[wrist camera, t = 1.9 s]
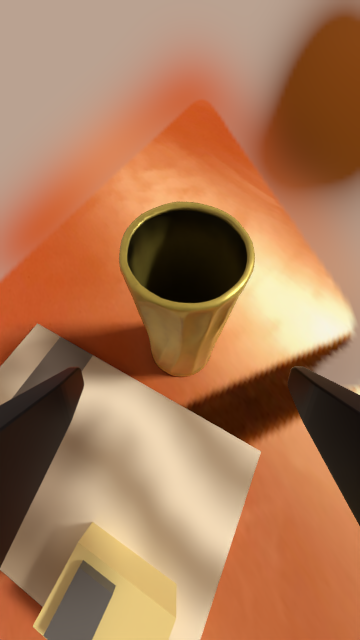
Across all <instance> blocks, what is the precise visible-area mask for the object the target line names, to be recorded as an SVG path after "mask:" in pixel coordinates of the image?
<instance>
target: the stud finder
mask: <svg viewBox="0 0 360 640" xmlns="http://www.w3.org/2000/svg"><path fill="white" fill-rule="evenodd" d="M176 596H177V584H176V583H175V582H173V581H172V580H171V579H169V578H168V577H166V576H165V575H164V574H162V573H161V572H160V571H158V570H157V569H156V568H154V567H153V566H152V565H150V564H149V563H148V562H146V561H145V560H144V559H142V558H141V557H140V556H138V555H137V554H136V553H134V552H133V551H131V550H130V549H129V548H127V547H126V546H125V545H123V544H122V543H121V542H119V541H118V540H117V539H115V538H114V537H113V536H111V535H110V534H109V533H107V532H106V531H105V530H103V529H102V528H101V527H99V526H98V525H96V524H95V523H94V522H92V523H91V525H90V526H89V528H88V529H87V530H86V532H85V533H84V535H83V536H82V537H81V539H80V540H79V541H78V543H77V545H76V547H75V549H74V551H73V552H72V554H71V556H70V558H69V560H68V562H67V564H66V565H65V567H64V569H63V571H62V573H61V575H60V577H59V578H58V580H57V582H56V584H55V586H54V588H53V590H52V591H51V593H50V595H49V597H48V599H47V601H46V603H45V604H44V606H43V608H42V610H41V612H40V614H39V616H38V617H37V619H36V621H35V623H34V625H33V627H34V628H35V629H36V630H37V631H38V632H39V633H40V634H42V635H43V636H44V637H45V638H46V639H47V640H169V637H170V634H171V632H172V629H173V626H174V623H175V621H176Z"/></svg>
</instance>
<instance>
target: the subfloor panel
mask: <svg viewBox="0 0 360 640" xmlns="http://www.w3.org/2000/svg"><path fill="white" fill-rule="evenodd" d="M69 367H79V368H81V371H82V375H83V380H84V389H83V391H82V394H81V397H80V400H79V402H78V405H77V408H76V411H75V413H74V416H73V419H72V421H71V424H70V426H69V428H68V430H67V432H66V434H65V436H64V438H63V440H62V442H61V444H60V446H59V448H58V450H57V453H56V455H55V457H54V459H53V461H52V463H51V465H50V467H49V469H48V471H47V473H46V475H45V477H44V479H43V481H42V483H41V485H40V487H39V490H38V492H37V494H36V496H35V498H34V500H33V502H32V504H31V506H30V508H29V510H28V512H27V514H26V516H25V518H24V520H23V522H22V524H21V526H20V529H19V531H18V533H17V535H16V537H15V539H14V541H13V543H12V545H11V547H10V549H9V551H8V553H7V555H6V557H5V559H4V561H3V563H2V566H1V568H0V570H1V571H2V572H3V573H4V574H6V575H7V576H8V577H9V578H10V579H11V580H12V581H14V582H15V583H16V584H17V585H18V586H19V587H20V588H22V589H23V590H24V591H25V592H26V593H27V594H28V595H30V596H31V597H32V598H33V599H34V600H35V601H36V602H38V603H39V604H40V605H41V606H42V607H43V606H44V604H45V603H46V601H47V599H48V597H49V595H50V593H51V591H52V590H53V588H54V586H55V584H56V582H57V580H58V578H59V577H60V575H61V573H62V571H63V569H64V567H65V565H66V564H67V562H68V560H69V558H70V556H71V554H72V552H73V551H74V549H75V547H76V545H77V543H78V541H79V540H80V539H81V537H82V536H83V535H84V533H85V532H86V530H87V529H88V528H89V526H90V525H91V523H92V522H94V523H95V524H96V525H98V526H99V527H101V528H102V529H103V530H105V531H106V532H107V533H109V534H110V535H111V536H113V537H114V538H115V539H117V540H118V541H119V542H121V543H122V544H123V545H125V546H126V547H127V548H129V549H130V550H131V551H133V552H134V553H136V554H137V555H138V556H140V557H141V558H142V559H144V560H145V561H146V562H148V563H149V564H150V565H152V566H153V567H154V568H156V569H157V570H158V571H160V572H161V573H162V574H164V575H165V576H166V577H168V578H169V579H171V580H172V581H173V582H175V583H176V584H177V596H176V621H175V623H174V626H173V629H172V632H171V634H170V637H169V640H200V639H201V636H202V632H203V629H204V626H205V623H206V620H207V617H208V614H209V611H210V608H211V605H212V602H213V598H214V595H215V592H216V589H217V586H218V583H219V580H220V577H221V574H222V571H223V568H224V564H225V561H226V558H227V555H228V552H229V549H230V546H231V543H232V540H233V537H234V533H235V530H236V527H237V524H238V521H239V518H240V515H241V512H242V509H243V506H244V503H245V499H246V496H247V493H248V490H249V487H250V484H251V481H252V478H253V475H254V472H255V469H256V465H257V462H258V459H259V456H260V453H261V451H259V450H257V449H256V448H254V447H252V446H250V445H249V444H247V443H245V442H243V441H242V440H240V439H238V438H236V437H235V436H233V435H231V434H229V433H228V432H226V431H224V430H222V429H221V428H219V427H217V426H215V425H214V424H212V423H210V422H208V421H207V420H205V419H203V418H202V417H200V416H198V415H196V414H195V413H193V412H191V411H189V410H188V409H186V408H184V407H182V406H181V405H179V404H177V403H175V402H174V401H172V400H170V399H168V398H167V397H165V396H163V395H161V394H160V393H158V392H156V391H154V390H153V389H151V388H149V387H147V386H146V385H144V384H142V383H140V382H139V381H137V380H135V379H133V378H132V377H130V376H128V375H126V374H125V373H123V372H121V371H120V370H118V369H116V368H114V367H113V366H111V365H109V364H107V363H106V362H104V361H102V360H100V359H99V358H97V357H95V356H93V355H92V354H90V353H88V352H86V351H85V350H83V349H81V348H79V347H78V346H76V345H74V344H72V343H71V342H69V341H67V340H65V339H64V338H62V337H60V336H58V335H57V334H55V333H53V332H51V331H50V330H48V329H46V328H44V327H43V326H41V325H39V324H37V325H36V326H35V327H34V328H33V329H32V330H31V332H30V333H29V334H28V335H27V336H26V337H25V339H24V340H23V341H22V342H21V343H20V344H19V346H18V347H17V348H16V349H15V350H14V351H13V353H12V354H11V355H10V356H9V357H8V358H7V360H6V361H5V362H4V363H3V364H2V365H1V367H0V405H1V404H3V403H5V402H7V401H9V400H10V399H12V398H14V397H16V396H18V395H20V394H21V393H23V392H25V391H27V390H29V389H31V388H32V387H34V386H36V385H38V384H40V383H41V382H43V381H45V380H47V379H49V378H51V377H52V376H54V375H56V374H58V373H60V372H62V371H63V370H65V369H67V368H69Z"/></svg>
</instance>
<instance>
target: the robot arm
mask: <svg viewBox="0 0 360 640" xmlns="http://www.w3.org/2000/svg"><path fill="white" fill-rule="evenodd" d="M288 388H289V391H290V393H291V395H292V398H293V400H294V402H295V405H296V407H297V410H298V412H299V414H300V417H301V419H302V421H303V423H304V425H305V427H306V429H307V430H308V432H309V434H310V436H311V438H312V440H313V441H314V443H315V445H316V447H317V449H318V451H319V452H320V454H321V456H322V458H323V460H324V462H325V463H326V465H327V467H328V469H329V471H330V473H331V474H332V476H333V478H334V480H335V482H336V484H337V485H338V487H339V489H340V491H341V493H342V495H343V496H344V498H345V500H346V502H347V504H348V506H349V507H350V509H351V511H352V513H353V515H354V517H355V518H356V520H357V522H358V524H359V526H360V395H358V394H356V393H354V392H352V391H350V390H348V389H346V388H344V387H342V386H340V385H338V384H336V383H334V382H332V381H330V380H328V379H326V378H324V377H322V376H320V375H318V374H316V373H314V372H312V371H310V370H308V369H306V368H304V367H293V368H292V369H291V372H290V375H289V379H288ZM83 389H84V380H83V375H82V371H81V368H79V367H69V368H67V369H65V370H63V371H62V372H60V373H58V374H56V375H54V376H52V377H51V378H49V379H47V380H45V381H43V382H41V383H40V384H38V385H36V386H34V387H32V388H31V389H29V390H27V391H25V392H23V393H21V394H20V395H18V396H16V397H14V398H12V399H10V400H9V401H7V402H5V403H3V404H1V405H0V568H1V566H2V563H3V561H4V559H5V557H6V555H7V553H8V551H9V549H10V547H11V545H12V543H13V541H14V539H15V537H16V535H17V533H18V531H19V529H20V526H21V524H22V522H23V520H24V518H25V516H26V514H27V512H28V510H29V508H30V506H31V504H32V502H33V500H34V498H35V496H36V494H37V492H38V490H39V487H40V485H41V483H42V481H43V479H44V477H45V475H46V473H47V471H48V469H49V467H50V465H51V463H52V461H53V459H54V457H55V455H56V453H57V450H58V448H59V446H60V444H61V442H62V440H63V438H64V436H65V434H66V432H67V430H68V428H69V426H70V424H71V421H72V419H73V416H74V413H75V411H76V408H77V405H78V402H79V400H80V397H81V394H82V391H83Z"/></svg>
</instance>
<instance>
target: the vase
mask: <svg viewBox="0 0 360 640" xmlns="http://www.w3.org/2000/svg"><path fill="white" fill-rule="evenodd" d="M254 262H255V253H254V247H253V244H252V241H251V239H250V237H249V235H248V233H247V232H246V231H245V229H244V228H243V227H242V226H241V224H240V223H239V222H238V221H237V220H236V219H235V218H234V217H232V216H231V215H229V214H228V213H226V212H224V211H222V210H220V209H218V208H215V207H212V206H208V205H204V204H200V203H194V202H173V203H168V204H164V205H161V206H159V207H156V208H153V209H151V210H149V211H147V212H145V213H143V214H141V215H140V216H139V217H138V218H136V219H135V220H134V221H133V222H132V223H131V225H130V226H129V227H128V228H127V230H126V232H125V233H124V235H123V238H122V241H121V246H120V253H119V264H120V270H121V273H122V275H123V277H124V279H125V282H126V284H127V286H128V288H129V291H130V293H131V295H132V297H133V300H134V302H135V304H136V307H137V310H138V312H139V314H140V317H141V319H142V321H143V323H144V326H145V328H146V330H147V333H148V336H149V340H150V345H151V352H152V356H153V358H154V361H155V362H156V364H157V366H158V367H159V368H161V369H162V370H163V371H165V372H166V373H168V374H170V375H173V376H180V377H184V376H190V375H193V374H195V373H197V372H199V371H200V370H201V369H202V368H203V367H204V366H205V365H206V364H207V362H208V360H209V358H210V356H211V352H212V350H213V348H214V346H215V343H216V341H217V340H218V338H219V336H220V334H221V332H222V330H223V327H224V325H225V323H226V321H227V319H228V317H229V315H230V313H231V311H232V309H233V307H234V305H235V303H236V301H237V299H238V297H239V295H240V294H241V292H242V291H243V289H244V287H245V286H246V284H247V282H248V280H249V278H250V276H251V274H252V272H253V268H254Z"/></svg>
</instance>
